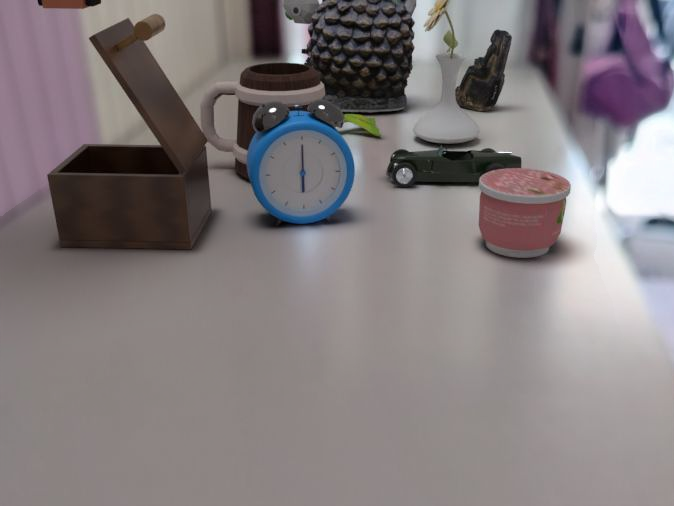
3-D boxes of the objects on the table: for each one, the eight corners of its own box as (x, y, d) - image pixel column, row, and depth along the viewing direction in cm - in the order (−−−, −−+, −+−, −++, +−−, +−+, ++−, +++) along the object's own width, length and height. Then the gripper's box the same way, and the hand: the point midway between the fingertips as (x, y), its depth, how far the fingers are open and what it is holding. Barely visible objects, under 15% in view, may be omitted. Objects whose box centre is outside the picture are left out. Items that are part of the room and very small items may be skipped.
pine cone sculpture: (412, 100, 164) (417, -35, 151) (415, 118, 150) (422, -28, 138) (310, 99, 164) (307, -36, 151) (305, 117, 151) (302, -29, 138)
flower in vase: (422, 129, 144) (429, -24, 131) (484, 134, 140) (498, -22, 128) (401, 148, 133) (407, -17, 121) (469, 154, 130) (482, -14, 117)
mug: (339, 158, 127) (339, 60, 120) (324, 189, 114) (323, 81, 107) (218, 153, 130) (210, 56, 122) (190, 183, 117) (179, 76, 109)
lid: (88, 38, 84) (129, 11, 82) (123, 21, 95) (159, -4, 93) (180, 174, 91) (219, 152, 89) (203, 143, 102) (238, 123, 100)
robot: (361, 108, 186) (259, 37, 188) (397, 49, 180) (291, -23, 183) (348, 105, 175) (239, 30, 177) (386, 42, 169) (273, -35, 172)
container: (506, 268, 91) (514, 201, 87) (457, 237, 99) (462, 174, 95) (580, 253, 95) (590, 188, 91) (526, 224, 103) (534, 163, 99)
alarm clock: (253, 229, 101) (246, 109, 93) (249, 213, 106) (242, 97, 98) (355, 222, 103) (356, 104, 96) (345, 206, 108) (345, 93, 101)
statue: (462, 101, 163) (467, 22, 155) (511, 111, 155) (519, 29, 148) (444, 106, 159) (450, 25, 152) (494, 116, 152) (502, 32, 144)
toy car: (384, 169, 123) (385, 137, 120) (514, 170, 123) (518, 138, 120) (386, 189, 114) (388, 155, 112) (526, 190, 115) (530, 156, 112)
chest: (60, 247, 96) (46, 174, 91) (94, 210, 107) (83, 143, 102) (191, 249, 95) (183, 177, 91) (211, 212, 106) (206, 145, 102)
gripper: (136, -198, 79) (157, 1, 89) (-30, -198, 80) (8, -1, 89) (113, -206, 73) (138, 10, 82) (-68, -206, 74) (-23, 8, 83)
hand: (70, 2), depth 86 cm, fingers closed on block, 4 cm apart
